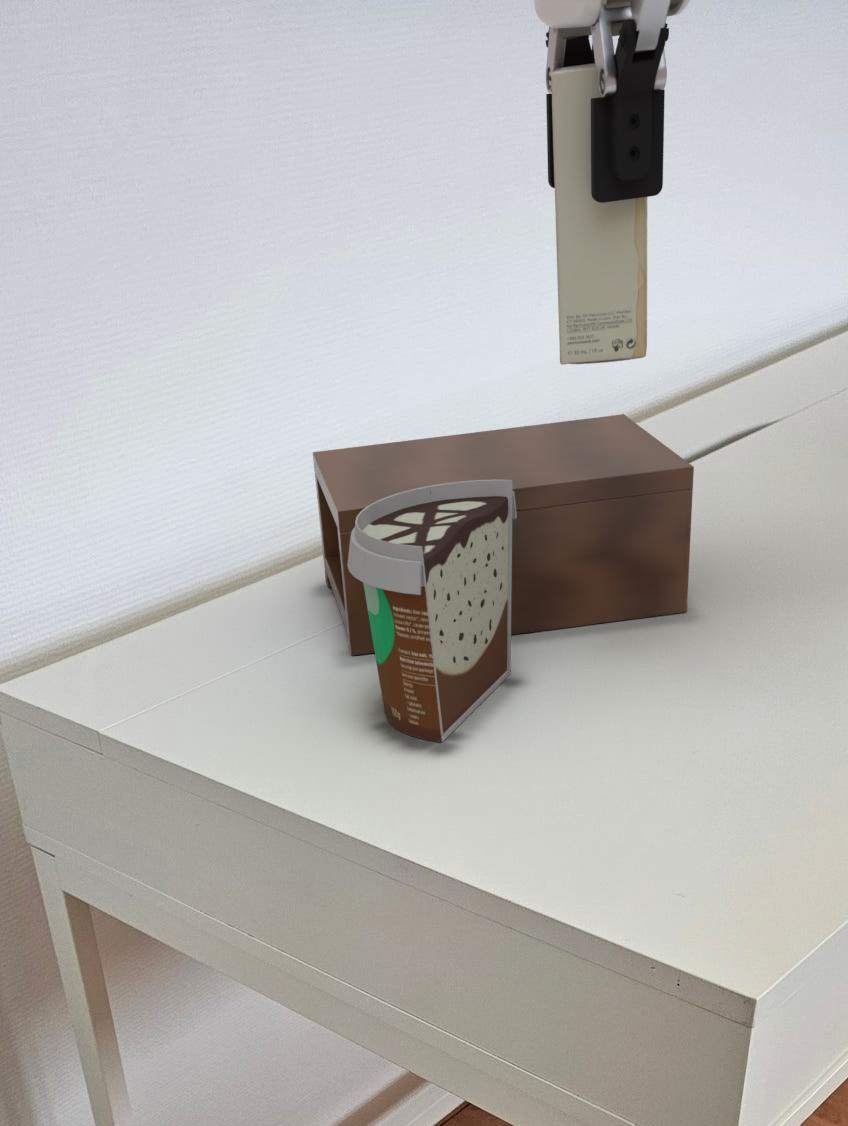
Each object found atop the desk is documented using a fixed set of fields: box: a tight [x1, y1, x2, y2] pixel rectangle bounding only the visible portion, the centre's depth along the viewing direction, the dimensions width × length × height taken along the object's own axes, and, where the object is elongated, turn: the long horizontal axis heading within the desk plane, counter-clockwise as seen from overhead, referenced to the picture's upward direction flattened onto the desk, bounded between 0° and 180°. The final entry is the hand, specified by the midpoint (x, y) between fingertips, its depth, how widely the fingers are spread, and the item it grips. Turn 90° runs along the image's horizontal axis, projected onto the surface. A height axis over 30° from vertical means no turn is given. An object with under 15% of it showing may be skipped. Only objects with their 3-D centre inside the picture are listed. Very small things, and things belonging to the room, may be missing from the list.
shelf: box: [312, 413, 695, 656], centre depth 85 cm, size 20×14×8 cm
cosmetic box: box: [551, 63, 648, 366], centre depth 68 cm, size 6×4×12 cm
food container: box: [347, 480, 517, 743], centre depth 72 cm, size 12×6×10 cm, turn 154°
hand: (602, 188), depth 67 cm, fingers closed on cosmetic box, 7 cm apart
